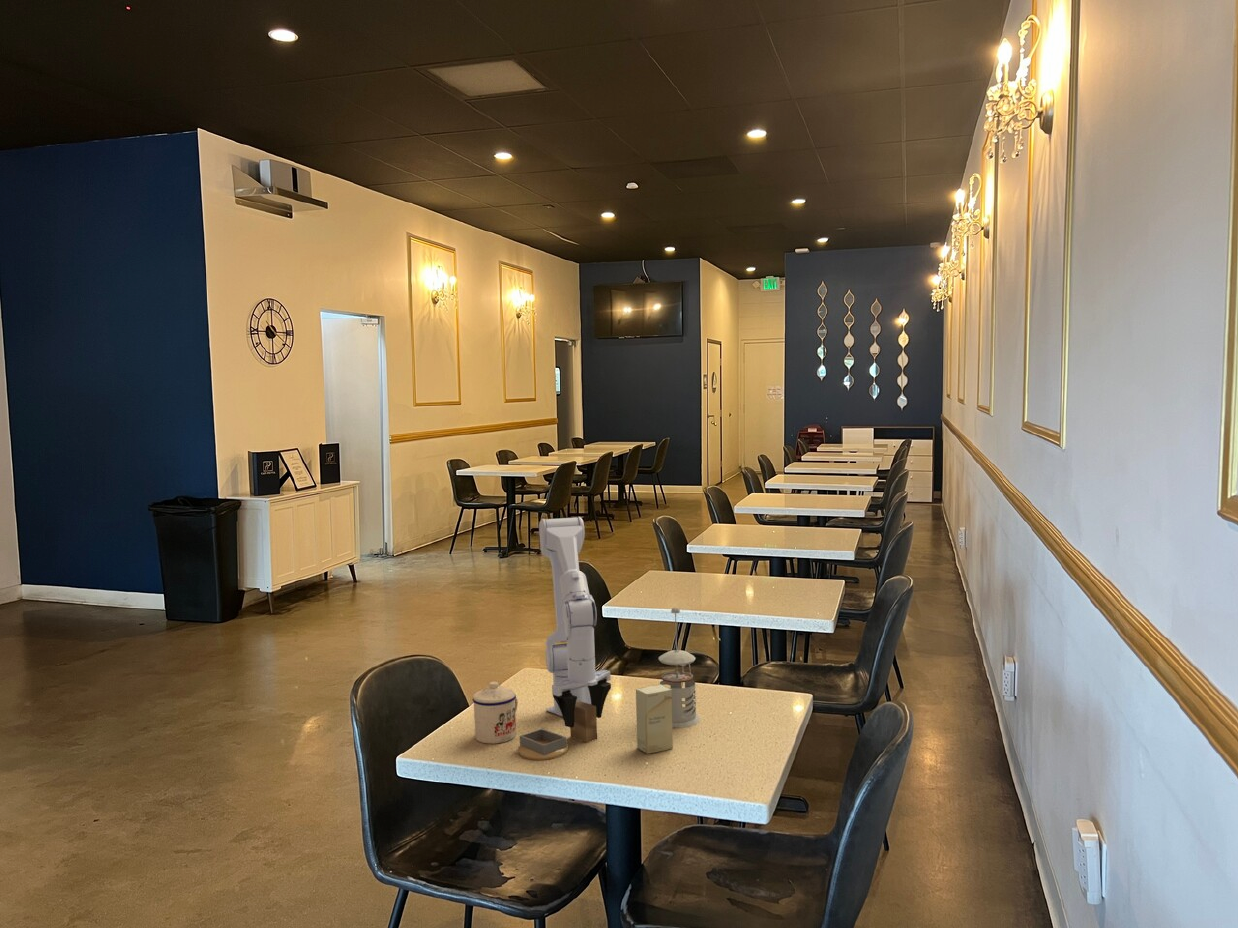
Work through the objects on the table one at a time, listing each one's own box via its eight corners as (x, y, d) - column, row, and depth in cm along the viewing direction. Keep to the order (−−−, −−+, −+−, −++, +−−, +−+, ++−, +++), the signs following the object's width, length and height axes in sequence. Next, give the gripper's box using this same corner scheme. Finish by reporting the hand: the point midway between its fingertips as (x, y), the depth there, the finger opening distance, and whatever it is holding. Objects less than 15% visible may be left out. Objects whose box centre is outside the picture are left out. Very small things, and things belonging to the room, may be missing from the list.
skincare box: (647, 754, 178) (645, 694, 177) (636, 747, 182) (634, 688, 181) (674, 748, 181) (672, 689, 180) (663, 741, 184) (661, 683, 184)
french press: (649, 724, 194) (646, 610, 193) (667, 707, 205) (664, 599, 203) (693, 729, 191) (690, 613, 189) (708, 711, 201) (706, 601, 200)
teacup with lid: (499, 747, 184) (497, 691, 183) (465, 740, 189) (462, 685, 188) (533, 728, 194) (531, 675, 194) (500, 722, 199) (498, 670, 198)
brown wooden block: (581, 733, 191) (580, 700, 190) (597, 738, 187) (596, 706, 187) (570, 737, 189) (569, 704, 188) (586, 742, 185) (585, 709, 185)
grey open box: (547, 737, 189) (546, 724, 189) (578, 749, 181) (577, 735, 181) (508, 750, 182) (508, 737, 182) (539, 764, 175) (538, 749, 174)
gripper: (566, 668, 179) (569, 735, 180) (619, 653, 189) (621, 716, 190) (544, 662, 184) (547, 727, 185) (597, 647, 194) (599, 709, 195)
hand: (583, 721), depth 187 cm, fingers open, 7 cm apart
